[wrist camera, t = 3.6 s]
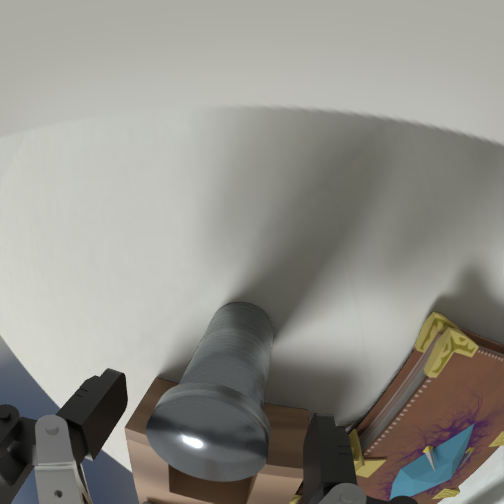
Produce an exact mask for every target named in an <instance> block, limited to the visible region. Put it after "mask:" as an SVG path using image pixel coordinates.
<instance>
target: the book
mask: <svg viewBox="0 0 504 504" xmlns="http://www.w3.org/2000/svg"><path fill="white" fill-rule="evenodd" d="M414 347H415V350H414V351H413V353H412V354H411V356H410V357H409V359H408V360H407V362H406V363H405V365H404V366H403V368H402V369H401V371H400V372H399V374H398V375H397V376H396V378H395V379H394V381H393V382H392V383H391V385H390V386H389V388H388V389H387V390H386V392H385V393H384V394H383V396H382V397H381V398H380V400H379V401H378V402H377V403H376V405H375V406H374V407H373V409H372V410H371V411H370V412H369V414H368V415H367V416H366V417H365V419H364V420H363V421H362V422H361V423H360V425H359V426H358V427H357V428H356V429H353V430H352V431H351V433H350V434H349V437H350V442H351V448H352V456H353V460H354V466H355V472H356V478H357V484H358V486H359V487H360V488H362V489H363V491H364V492H365V494H366V495H367V496H369V497H372V498H376V499H380V500H385V501H390V500H391V499H392V498H394V497H396V496H401V495H404V496H409V497H411V498H413V499H415V500H416V501H417V503H418V504H437V503H439V502H440V501H441V500H442V499H444V498H447V497H455V496H456V495H457V494H459V493H460V490H459V488H458V486H459V485H460V484H461V483H463V482H464V481H465V480H466V479H467V478H468V477H469V476H470V475H471V474H473V473H474V472H475V471H476V470H477V469H478V468H479V467H480V466H481V465H482V464H483V463H484V462H485V461H486V460H487V459H488V458H489V457H490V456H491V455H492V454H493V453H494V452H495V451H496V450H497V449H498V448H499V447H500V446H502V445H504V345H502V344H499V343H497V342H494V341H492V340H489V339H487V338H484V337H482V336H479V335H477V334H474V333H472V332H469V331H467V330H464V329H462V328H459V327H457V326H456V325H455V324H454V323H453V322H451V321H450V320H449V319H448V318H446V317H445V316H444V315H443V314H440V313H437V312H432V313H431V315H430V316H429V317H428V318H427V320H426V321H425V322H424V324H423V326H422V329H421V331H420V334H419V336H418V339H417V341H416V344H415V346H414ZM289 504H303V486H302V487H301V488H300V489H299V490H297V491H296V493H295V495H294V497H293V498H292V500H291V502H290V503H289Z"/></svg>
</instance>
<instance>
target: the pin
mask: <svg viewBox="0 0 504 504" xmlns="http://www.w3.org/2000/svg"><path fill="white" fill-rule="evenodd" d="M273 334H274V329H273V325H272V322H271V320H270V318H269V317H268V315H267V314H266V313H265V312H264V311H263V310H262V309H260V308H259V307H257V306H255V305H252V304H249V303H244V302H235V303H230V304H227V305H225V306H223V307H222V308H220V309H219V310H218V311H217V312H216V313H215V315H214V317H213V318H212V320H211V322H210V324H209V326H208V328H207V330H206V332H205V334H204V336H203V338H202V340H201V342H200V344H199V346H198V348H197V350H196V351H195V353H194V355H193V357H192V359H191V361H190V363H189V365H188V367H187V369H186V371H185V373H184V375H183V377H182V379H181V381H180V383H179V385H177V386H175V387H173V388H171V389H169V390H168V391H166V392H165V393H164V394H163V395H162V397H161V398H160V400H159V402H158V404H157V405H156V407H155V409H154V411H153V413H152V415H151V416H150V418H149V420H148V422H147V425H146V436H147V439H148V442H149V444H150V445H151V447H152V448H153V450H154V451H155V452H156V453H157V455H158V456H159V457H160V458H162V459H163V460H164V461H165V462H166V463H168V464H169V465H171V466H172V467H174V468H176V469H177V470H179V471H181V472H183V473H186V474H188V475H191V476H194V477H197V478H200V479H205V480H210V481H221V482H227V481H237V480H242V479H245V478H248V477H251V476H253V475H255V474H256V473H258V472H259V471H260V470H261V469H262V468H263V467H264V466H265V464H266V462H267V458H268V451H269V442H270V433H271V427H270V422H269V420H268V417H267V416H266V414H265V412H264V405H265V397H266V390H267V382H268V375H269V367H270V359H271V351H272V343H273Z"/></svg>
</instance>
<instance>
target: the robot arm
mask: <svg viewBox="0 0 504 504" xmlns="http://www.w3.org/2000/svg"><path fill="white" fill-rule="evenodd" d="M127 402H128V396H127V387H126V377H125V374H124V373H122V372H119V371H116V370H113V369H110V368H108V369H106V370H105V371H104V373H103V374H102V375H101V376H100V377H98V376H96V375H95V376H93V377H91V378H89V379H87V380H86V381H85V382H84V383H83V384H82V385H81V386H80V387H79V389H78V390H77V391H76V392H75V394H74V395H72V397H71V398H70V399H69V400H68V401H67V402H66V403H65V405H64V406H63V407H62V408H61V409H60V410H59V412H58V413H57V414H56V415H46V416H43V417H41V418H40V419H39V420H33V419H29V418H25V417H21V416H20V414H19V412H18V410H17V409H16V408H15V407H13V406H11V405H7V404H5V405H0V504H11V502H12V501H13V499H14V497H15V496H16V494H17V493H18V491H19V489H20V488H21V486H22V485H23V483H24V482H25V480H26V478H27V477H28V475H29V474H30V472H31V471H32V469H33V468H34V466H35V465H36V466H35V477H36V484H37V491H38V497H39V503H40V504H93V503H92V501H91V498H90V494H89V491H88V487H87V484H86V480H85V476H84V473H83V468H82V464H81V462H82V461H83V459H84V458H87V459H89V460H91V461H94V459H95V458H96V456H97V454H98V453H99V451H100V450H101V448H102V446H103V445H104V443H105V442H106V440H107V439H108V437H109V435H110V434H111V432H112V431H113V429H114V427H115V426H116V424H117V423H118V421H119V420H120V418H121V416H122V415H123V413H124V412H125V410H126V407H127ZM303 504H418V503H417V501H416V500H415V499H413V498H411V497H409V496H404V495H401V496H396V497H394V498H392V499H391V500H390V501H385V500H380V499H376V498H372V497H369V496H367V495H366V494H365V492H364V491H363V489H362V488H360V487H359V486H358V484H357V478H356V472H355V466H354V460H353V456H352V448H351V442H350V437H349V435H348V434H347V432H346V431H345V429H344V428H343V427H335V423H334V417H333V415H330V414H318V413H315V414H314V415H313V418H312V421H311V423H310V426H309V428H308V431H307V433H306V436H305V439H304V444H303Z"/></svg>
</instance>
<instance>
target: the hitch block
mask: <svg viewBox="0 0 504 504" xmlns="http://www.w3.org/2000/svg"><path fill="white" fill-rule="evenodd" d="M177 385H179V384H177V383H174V382H170V381H166V380H163V379H160V378H155V379H154V381H153V383H152V384H151V386H150V387H149V389H148V391H147V392H146V394H145V395H144V397H143V399H142V400H141V402H140V404H139V405H138V407H137V408H136V410H135V412H134V413H133V415H132V416H131V418H130V420H129V421H128V423H127V424H126V426H125V434H126V440H127V446H128V452H129V457H130V462H131V467H132V472H133V477H134V482H135V486H136V491H137V495H138V499H139V503H140V504H142V503H143V502H145V501H150V502H152V503H153V504H289V503H290V502H291V500H292V498H293V497H294V495H295V493H296V491H297V490H298V488H299V486H300V484H301V483H302V481H303V444H304V439H305V436H306V433H307V431H308V410H305V409H298V408H291V407H284V406H278V405H272V404H266V403H265V405H264V412H265V414H266V416H267V417H268V420H269V422H270V427H271V433H270V442H269V451H268V458H267V462H266V464H265V466H264V467H263V468H262V469H261V470H260V471H259V472H258V473H256V474H255V475H253V476H251V477H248V478H245V479H242V480H237V481H227V482H221V481H210V480H205V479H200V478H197V477H194V476H191V475H188V474H186V473H183V472H181V471H179V470H177V469H176V468H174V467H172V466H171V465H169V464H168V463H166V462H165V461H164V460H163V459H162V458H160V457H159V456H158V455H157V453H156V452H155V451H154V450H153V448H152V447H151V445H150V444H149V442H148V439H147V436H146V425H147V422H148V420H149V418H150V416H151V415H152V413H153V411H154V409H155V407H156V405H157V404H158V402H159V400H160V398H161V397H162V395H163V394H164V393H165V392H166V391H168V390H169V389H171V388H173V387H175V386H177Z"/></svg>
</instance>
